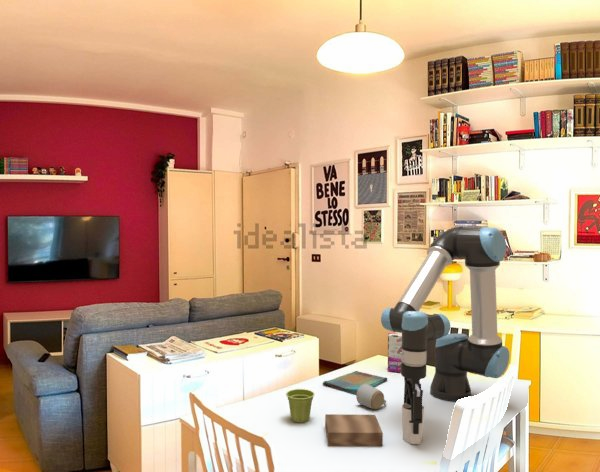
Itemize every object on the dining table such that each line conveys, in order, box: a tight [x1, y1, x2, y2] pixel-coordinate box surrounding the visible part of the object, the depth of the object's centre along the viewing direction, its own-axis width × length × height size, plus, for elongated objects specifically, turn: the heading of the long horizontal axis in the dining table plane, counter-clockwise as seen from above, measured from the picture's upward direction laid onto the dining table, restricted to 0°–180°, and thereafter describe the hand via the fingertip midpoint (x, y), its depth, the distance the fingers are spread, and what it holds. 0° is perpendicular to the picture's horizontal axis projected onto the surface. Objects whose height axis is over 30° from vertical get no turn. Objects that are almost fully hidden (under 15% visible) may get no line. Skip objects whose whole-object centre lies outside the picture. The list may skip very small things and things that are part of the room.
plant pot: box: [285, 388, 315, 423], centre depth 171 cm, size 9×9×9 cm
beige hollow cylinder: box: [401, 403, 425, 444], centre depth 157 cm, size 7×7×10 cm
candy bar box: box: [387, 332, 402, 374], centre depth 227 cm, size 11×5×16 cm, turn 80°
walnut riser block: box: [324, 413, 384, 447], centre depth 159 cm, size 16×14×4 cm
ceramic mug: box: [355, 384, 387, 410], centre depth 184 cm, size 10×8×7 cm
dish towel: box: [322, 370, 388, 396], centre depth 210 cm, size 17×23×2 cm
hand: (411, 438), depth 157 cm, fingers open, 6 cm apart
